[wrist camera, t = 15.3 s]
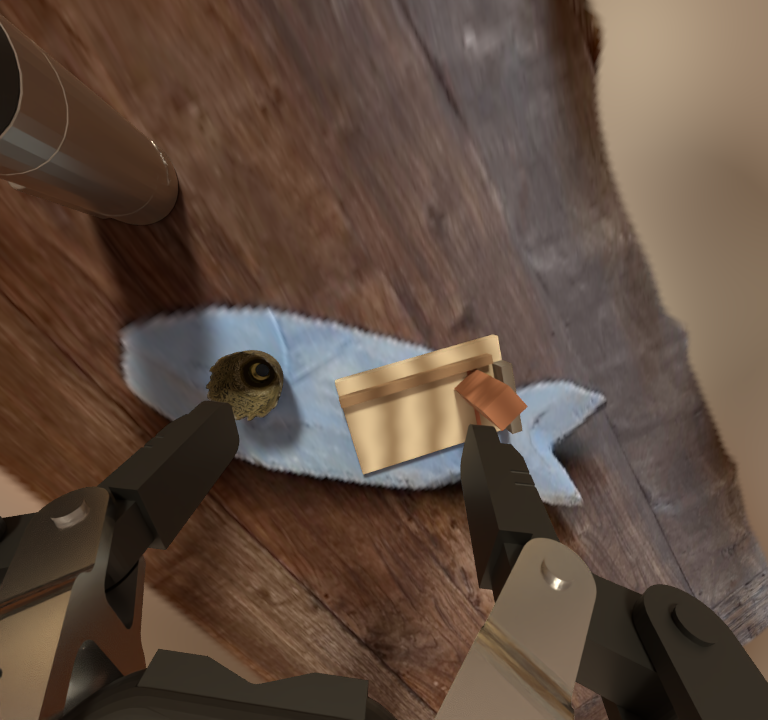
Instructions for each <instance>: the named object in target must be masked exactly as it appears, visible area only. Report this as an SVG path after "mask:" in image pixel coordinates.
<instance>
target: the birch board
mask: <svg viewBox="0 0 768 720" xmlns="http://www.w3.org/2000/svg"><path fill="white" fill-rule="evenodd" d="M474 369H477V370H479V371H481V372H483V373H487V374H489V375H491V376H492V377H493V378H495V379H497V380H499V381H501V382H503V383H505V384H507V385H509V386H510V387H511V389H512V390H513V391H514V392H515V393H516V388H515V381H514V375H513V369H512V364H511V363H509V362H506V361H503V360H502V359H501V353H500V347H499V341H498V336H496V335H489V336H486V337H482V338H479V339H475V340H472V341H469V342H465V343H462V344H458V345H455V346H451V347H448V348H444V349H441V350H437V351H434V352H430V353H427V354H424V355H420V356H417V357H413V358H410V359H406V360H403V361H399V362H396V363H392V364H389V365H385V366H382V367H379V368H375V369H372V370H368V371H365V372H361V373H358V374H354V375H351V376H347V377H344V378H340V379H337V380H335V385H336V388H337V391H338V394H339V401H340V404H341V408H343V411H344V414H345V417H346V420H347V423H348V427H349V430H350V433H351V436H352V440H353V443H354V446H355V449H356V452H357V456H358V459H359V462H360V465H361V469H362V472H363V474H366V473H369V472H373V471H376V470H379V469H382V468H385V467H388V466H391V465H394V464H398V463H401V462H404V461H407V460H410V459H413V458H416V457H419V456H423V455H426V454H429V453H432V452H435V451H438V450H441V449H444V448H447V447H451V446H454V445H457V444H460V443H463V442H465V439H466V434H467V430H468V426H469V425H470V424H475V425H486V426H494V427H495V429H496V432H497V431H500V429H499V428H498V427H496V426H495V425H494V424H493V423H492V422H490V421H489V420H488V419H487V418H485V417H484V416H483V415H482V414H480V413H479V412H478V411H477V410H476V409H474V408H473V407H472V406H471V405H470V404H469V403H468V402H467V401H466V400H465V399H464V398H463V397H462V396H461V395H460V394H459V393H458V392H457V391H456V390H455V389H454V388H455V387H456V386H457V385H458V384H459V383H460V382H461V381H462V380H463V379H464V378H465V377H466V376H467V375H469V374H470V373H471V372H472V371H473V370H474ZM505 429H507V430H508V431H509V432H511V433H512V434H514V433H517V432H520V431H522V425H521V419H520V414H519V415H518V416H517V417H516V418H515V419H514V420H513V421H512V422H511V423H510V424H509V425H508V426H507V427H506V428H505Z"/></svg>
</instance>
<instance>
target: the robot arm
mask: <svg viewBox="0 0 768 720" xmlns="http://www.w3.org/2000/svg"><path fill="white" fill-rule="evenodd" d="M0 178H1V179H4V180H7V181H8V183H9V184H10V185H11V186H12V187H13V188H14V189H16V190H18V191H21V192H24V193H27V194H30V195H33V196H36V197H39V198H42V199H45V200H48V201H51V202H54V203H57V204H60V205H63V206H65V207H68V208H71V209H74V210H77V211H80V212H83V213H86V214H89V215H92V216H95V217H98V218H101V219H107V218H113V219H116V220H119V221H122V222H124V223H128V224H133V225H147V224H152V223H155V222H157V221H159V220H162V219H163V218H164V217H165V216H167V215H168V214H169V213H170V211H171V210H172V209H173V207H174V205H175V202H176V200H177V195H178V179H177V176H176V172H175V169H174V167H173V165H172V163H171V161H170V160H169V159H168V157H167V156H166V154H165V153H164V152H163V151H162V150H161V149H160V148H159V147H158V146H157V145H156V144H154V143H153V142H152V141H151V140H150V139H148V138H147V137H146V136H145V135H144V134H143V133H141V132H140V131H139V130H138V129H137V128H136V127H134V126H133V125H132V124H131V123H130V122H129V121H127V120H126V119H125V118H124V117H123V116H121V115H120V114H119V113H118V112H117V111H115V110H114V109H113V108H112V107H111V106H109V105H108V104H107V103H106V102H105V101H104V100H102V99H101V98H100V97H99V96H98V95H96V94H95V93H94V92H93V91H92V90H90V89H89V88H88V87H87V86H86V85H84V84H83V83H82V82H81V81H80V80H79V79H77V78H76V77H75V76H74V75H73V74H71V73H70V72H69V71H68V70H67V69H65V68H64V67H63V66H62V65H61V64H59V63H58V62H57V61H56V60H55V59H54V58H52V57H51V56H50V55H49V54H48V53H46V52H45V51H44V50H43V49H42V48H40V47H39V46H38V45H37V44H36V43H34V42H33V41H32V40H31V39H30V38H28V37H27V36H26V35H25V34H24V33H22V32H21V31H20V30H19V29H18V28H16V27H15V26H14V25H13V24H12V23H10V22H9V21H8V20H7V19H6V18H5V17H3V16H2V15H1V14H0ZM238 446H239V435H238V431H237V426H236V422H235V418H234V414H233V409H232V406H231V405H230V404H229V403H227V402H216V401H203V402H201V403H200V404H199V405H198V406H197V407H196V408H195V409H194V410H192V411H191V412H190V413H189V414H186V415H184V416H182V417H180V418H178V419H176V420H175V421H173V422H171V423H169V424H168V425H167V426H166V427H164V428H163V429H162V430H161V431H160V432H159V433H158V434H156V437H155V438H152V439H151V440H150V441H148V442H147V443H146V444H145V446H144V448H140V449H139V450H138V451H137V452H136V453H135V454H134V455H132V456H131V457H130V458H129V459H128V460H127V461H126V462H124V463H123V464H122V465H121V466H120V467H119V468H118V469H116V470H115V471H114V472H113V473H112V474H111V475H109V476H108V477H107V478H106V479H105V480H104V481H103V482H101V483H100V484H99V485H98V486H97V487H86V488H82V489H78V490H75V491H72V492H69V493H67V494H65V495H63V496H61V497H59V498H57V499H55V500H54V501H52V502H50V503H49V504H47V505H46V506H45V507H43V508H42V509H41V510H40V511H39V512H36V513H31V514H24V515H18V516H12V517H6V518H1V516H0V720H397V719H396V718H395V717H394V716H393V715H392V714H391V713H390V712H389V711H388V710H387V709H385V708H384V707H383V706H382V705H381V704H379V703H378V702H376V701H374V700H373V699H371V698H369V697H368V680H361V679H355V678H348V677H342V676H335V675H328V674H322V673H310V674H305V675H301V676H296V677H291V678H286V679H281V680H277V681H272V682H267V683H262V684H252V683H250V682H248V681H246V680H245V679H243V678H241V677H240V676H238V675H237V674H235V673H234V672H232V671H230V670H229V669H227V668H226V667H224V666H222V665H221V664H219V663H218V662H216V661H215V660H213V659H212V658H210V657H208V656H202V655H196V654H189V653H182V652H176V651H169V650H162V649H158V651H157V652H156V654H155V656H154V657H153V659H152V661H151V663H150V664H149V666H148V668H146V664H145V657H144V652H143V649H142V644H141V633H140V632H141V619H142V618H141V617H142V605H143V591H144V578H145V559H144V557H143V553H144V552H145V551H146V549H147V548H155V549H163V550H166V549H167V548H168V546H169V545H170V544H171V542H172V541H173V540H174V538H175V537H176V536H177V534H178V533H179V531H180V530H181V529H182V527H183V526H184V525H185V523H186V522H187V520H188V519H189V518H190V516H191V515H192V514H193V512H194V511H195V510H196V508H197V507H198V505H199V504H200V503H201V501H202V500H203V499H204V497H205V496H206V494H207V493H208V492H209V490H210V489H211V488H212V486H213V485H214V484H215V482H216V481H217V479H218V478H219V477H220V475H221V474H222V473H223V471H224V470H225V468H226V467H227V466H228V464H229V463H230V462H231V460H232V459H233V458H234V456H235V454H236V452H237V450H238ZM460 470H461V482H462V488H463V494H464V500H465V506H466V512H467V518H468V524H469V530H470V536H471V542H472V548H473V554H474V560H475V566H476V572H477V578H478V584H479V588H482V589H490V590H492V591H493V596H494V601H495V605H494V607H493V609H492V611H491V613H490V615H489V617H488V619H487V621H486V623H485V624H484V626H482V628H481V630H480V631H479V633H478V635H477V637H476V639H475V641H474V643H473V645H472V647H471V649H470V651H469V653H468V655H467V657H466V658H465V660H464V662H463V664H462V666H461V668H460V670H459V672H458V674H457V676H456V678H455V680H454V682H453V684H452V686H451V688H450V690H449V692H448V694H447V696H446V698H445V700H444V702H443V704H442V706H441V708H440V710H439V712H438V713H437V715H436V717H435V719H434V720H574V709H573V708H572V707H571V699H572V693H573V689H574V685H575V682H577V683H579V684H581V685H583V686H585V687H586V688H588V689H590V690H592V691H594V692H595V693H597V694H599V695H601V697H602V700H603V703H604V706H605V709H606V712H607V715H608V718H609V720H768V682H767V681H766V680H765V678H764V677H763V675H762V674H761V672H760V671H759V670H758V668H757V667H756V665H755V664H754V662H753V661H752V660H751V658H750V657H749V655H748V654H747V653H746V651H745V650H744V648H743V647H742V645H741V644H740V642H739V641H738V640H737V638H736V637H735V635H734V634H733V633H732V631H731V630H730V629H729V627H728V626H727V625H726V624H725V623H724V622H723V621H722V620H721V619H720V618H719V617H718V616H717V615H716V614H715V613H714V612H713V611H712V610H711V609H710V608H708V607H707V606H706V605H705V604H703V603H702V602H701V601H699V600H698V599H696V598H695V597H693V596H692V595H690V594H688V593H686V592H684V591H682V590H680V589H678V588H675V587H672V586H668V585H662V584H658V585H653V586H650V587H649V588H648V589H647V590H646V591H645V592H644V594H643V595H641V594H639V593H637V592H634V591H632V590H630V589H627V588H625V587H623V586H620V585H618V584H615V583H613V582H611V581H608V580H606V579H604V578H601V577H599V576H597V575H595V574H593V573H592V572H590V570H589V568H588V567H587V565H586V564H585V563H584V562H583V560H582V559H581V558H580V557H579V556H578V555H577V554H576V553H575V552H573V551H572V550H571V549H569V548H568V547H567V546H565V545H563V544H561V543H560V541H559V539H558V537H557V535H556V533H555V530H554V528H553V526H552V523H551V521H550V519H549V516H548V514H547V512H546V509H545V507H544V505H543V503H542V500H541V498H540V496H539V493H538V491H537V489H536V487H535V486H534V485H535V484H534V482H533V479H532V477H531V475H529V470H528V468H527V465H526V463H525V461H524V458H523V457H522V456H521V454H520V453H519V452H518V451H517V450H516V449H515V448H514V447H513V446H512V445H511V444H503V443H500V440H499V437H498V434H497V432H496V429H495V427H494V426H486V425H475V424H470V425H469V426H468V430H467V434H466V439H465V444H464V448H463V453H462V458H461V469H460Z"/></svg>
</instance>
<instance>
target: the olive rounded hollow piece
mask: <svg viewBox="0 0 768 720" xmlns="http://www.w3.org/2000/svg"><path fill="white" fill-rule="evenodd" d="M260 364H264V365H266V366H267V367H268V368H269V373H268V374H267V375H266V376H260V375H258V374H257V372H256V367H257V366H258V365H260ZM210 372H212V375H211V376H210V382H209V383H208V384H207V385H206V388H207V389H209V391H208V394H207V398H208V399H209V400H210V401H216V402H227V403H229V404H230V405H231V406H232V409H233V414H234V418H235V419H236V420H241V419H244V418H245V417H248V419H247V420H248V421H251V420H252V419H254V418H255V417H260V418H261V417H265V416H266V415H267V414H268V413H269V412H270V411H271V410H272V409H274V408H275V407H276V405H277V403H278V400H279V397H280V395H281V391H282V386H283V371H282V368H281V366H280V364H279V363H278V362H277V360H276V359H275V358H274V357H272V356H271V355H269V354H267V353H265V352H262V351H256V350H249V351H242V352H236V353H233V354H230V355H226V356H224V357H222V358H220V359H219V360H218V361H217V362H216V363H215V365H214V366H212V367H211V369H210Z"/></svg>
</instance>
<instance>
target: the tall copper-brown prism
mask: <svg viewBox="0 0 768 720" xmlns="http://www.w3.org/2000/svg"><path fill="white" fill-rule="evenodd" d="M454 389H455V390H456V391H457V392H458V393H459V394H460V395H461V396H462V397H463V398H464V399H465V400H466V401H467V402H468V403H469V404H470V405H471V406H472V407H473V408H474V409H476V410H477V411H478V412H479V413H480V414H482V415H483V416H484V417H485V418H487V419H488V420H489V421H490V422H492V423H493V424H494V425H495V426H496V427H498V428H499V429H500V430H501V431H503V430H504V429H505V428H506V427H507V426H508V425H509V424H510V423H511V422H512V421H513V420H514V419H515V418H516V417H517V416H518V415H519V414H520V413H521V412H522V411H523V410H524V409H526V408H527V407H528V406H527V405H526V404H525V403H524V402H523V401H522V400H521V399H520V397H519V396H518V395H517V394H516V393H515V392H514V391H513V390H512V389H511V387H510V386H509V385H507V384H505V383H503V382H501V381H499V380H497V379H495V378H493V377H492V376H491V375H489V374H487V373H483V372H481V371H479V370H477V369H474V370H473V371H472V372H471V373H470V374H469V375H467V376H466V377H465V378H464V379H463V380H462V381H461V382H460V383H459V384H458V385H457V386H456V387H455V388H454Z"/></svg>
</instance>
